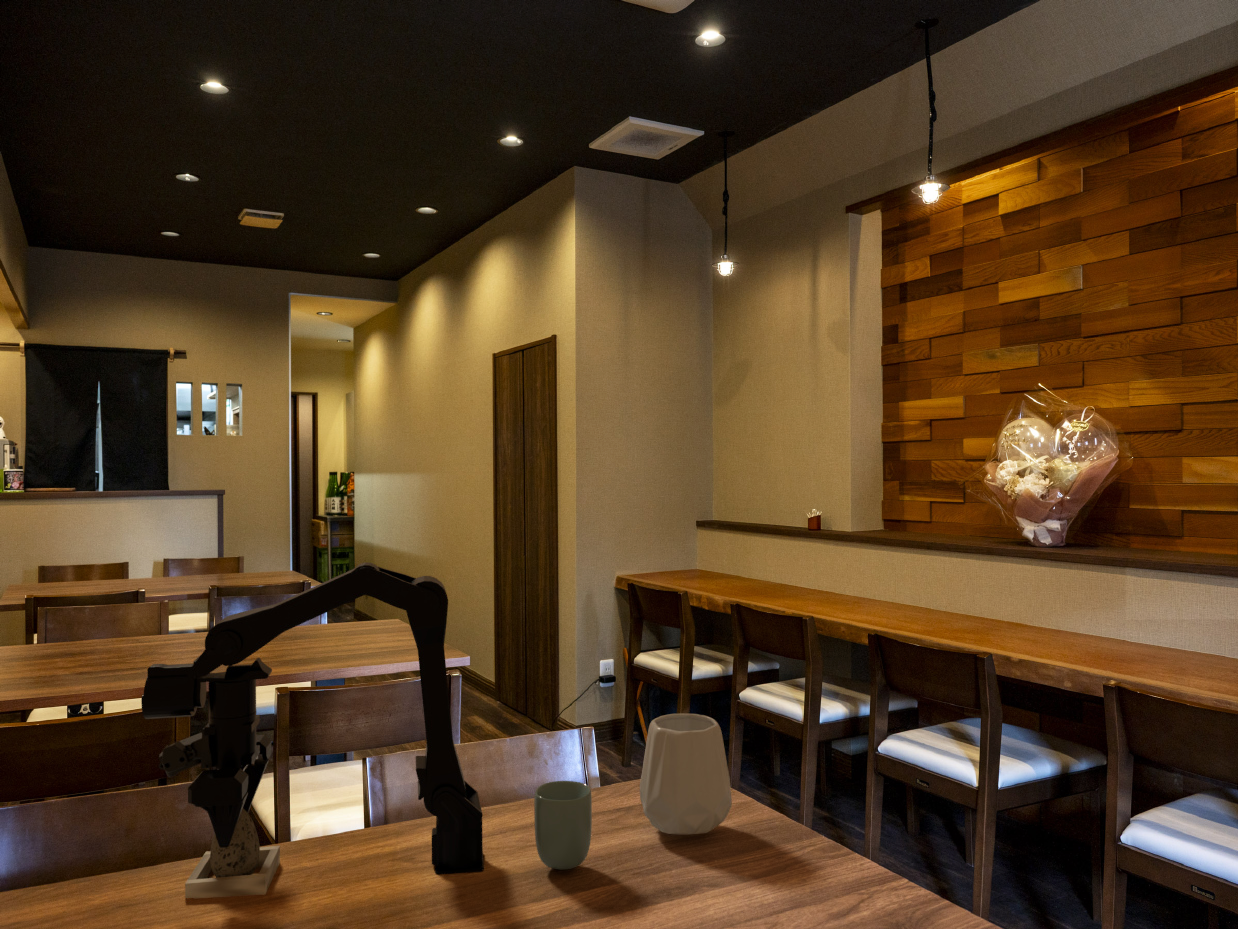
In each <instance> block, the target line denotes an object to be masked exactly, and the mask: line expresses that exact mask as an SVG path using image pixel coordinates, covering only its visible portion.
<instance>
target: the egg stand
mask: <svg viewBox="0 0 1238 929" xmlns="http://www.w3.org/2000/svg"><path fill="white" fill-rule="evenodd" d="M259 847H260V854H259V860H258V864H257V866H256V868H261V869H260V871H259V873H258V874H252V875H243V876H230V877H218V878H216V877H209V878H208V876H209V875H210V874H209V873H211V872H212V868H211V863H210V852H211V850H210V851H208V850H206V851H205V853H204V854H203V856H202V857H201V859H200V860H199V861H198V863H197V865H196V866H195V868H194V869H193V871H192V872H191V874H190V876H189V877H188V878H187V880H186V881H185V883H184V898H194V899H209V898H211V899H212V898H226V897H245V896H256V895H257V896H260V895H266V894H267V892H268V889H269V887H270V885H271V884H272V880H273V879H274V877H275V875H276V872H277V870H278V868H279V866H280V864H281V851H280V850H281V845H272V846H259Z"/></svg>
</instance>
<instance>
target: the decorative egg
mask: <svg viewBox="0 0 1238 929" xmlns="http://www.w3.org/2000/svg"><path fill="white" fill-rule="evenodd" d="M260 847H261V846H260V840H259V836H258V832H257V828H256V826H255V823H254V821H253V819H252V817H251V816H250V814H249V812H248V813H247V812H246V810H244V809H242V811H241V814H240V817H239V820H238V823H237V825H236V828H235V831H234V834H233V837H232V839H231V842H230V845H229V846H228V847H224V848H220V847H219V845H218V841H217V838H216V835H215V832H214V833H213V837H212V840H211V846H210V851H211V852H210V863H211V868H212V870H211V872H212V873H213V875H214V877H215V878H218V877H230V876H243V875H253V873H254V872H255V870H256V868H257V867H256V866H257V864H258V860H259V854H260Z"/></svg>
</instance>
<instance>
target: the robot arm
mask: <svg viewBox="0 0 1238 929" xmlns="http://www.w3.org/2000/svg"><path fill="white" fill-rule="evenodd" d="M446 590H447V589H446V587H445V586H444V584H443V582H442V581H440V580H439V579H438V578H436V577H434V576H432V575H422V576H418V577H414V576H411V575H408V574H405V573H402V572H398V571H394V570H390V569H387V568H383V567H380V566H379V565H378V566H377V565H376V564H375V563H372V562H366V561H365V562H362V563H359V564H358V565H356V567H354V568H352V569H350V570H348V571H347V572H344V573H341V574H339V575H337V576H335V577H333V578H331V579H328V580H326V581H323V582H322V583H319V584H317V585H315V586H312V587H311V588H308V589H307V590H304V591H302V592H300V593H298V594H295V595H293V596H291V597H288V598H286V599H283V600H282V601H279V602H276V603H274V604H270V605H268V606H267V605H266V606H263V607H257V608H256V607H255V608H251V609H248V610H244V611H241V612H238V613H233V614H230V615H227V616H226V617H224V618H222V619H221V620H220V621H219V622H217V623H216V624H215V625H213V626H212V627H211V628H210V629H209V630H208V632H207V633H206V636H205V638H204V651H202V653H201V654H200V655H198V656H197V658H196V659H194V660H193V663H179V664H165V663H153V664H151V665H150V666H149V667H148V668H147V672H146V674H147V677H146V679H145V683H144V688H143V694H142V696H141V697H140V698H141V700H140V701H141V702H140V703H141V713H142V716H143V718H144V719H145V720H150V719H153V720H154V719H167V718H168V719H170V718H184V717H194V716H195V715H196V714H197V713H196V712H197V709H198V708H204V707H205V704H206V699H207V683H208V723H207V724H206V725H205V726H204V727H203V728H202V729H201V730H202V731H201V732H199V733H197V734H194V735H191V736H188V737H186V738H184V739H182V740H177V741H175V742H173V743H172V744H167V745H166V746H164V747H163V749H162V751H161V753H159V754H158V755H159V756H158V759H159V764H158V768H159V770H160V771H161V770H162V771H165V773H166V776H167V778H172V777H175V776H178V774H179V773H181V772H183V771H185V770H188V769H190V768H194V767H196V766H198V765H200V769H202V771H201V772H200V773H199V775H198V776H196V777H195V778H194V780H193V781H191V783H190V785H189V786H188V787H187V804H190V805H193V806H194V807H196V808H201V809H202V810H204V811H206V813H207V814H208V818H209V820H210V823H211V825H212V829H213V832H214V833H215V835H216V838H217V841H218V845H219V847H220V848H224V847H228V846H229V845H230V842H231V839H232V837H233V834H234V831H235V828H236V825H237V823H238V820H239V817H240V814H241V811H242V809H244V810H246V812H247V813H248V814H249V812H250V809H251V806H252V804H253V801H254V799H255V796H256V793H257V791H258V788H259V786H260V784H261V781H262V778H263V776H264V773H265V771H266V768H267V766H268V763H269V761H270V759H269V758H270V757H271V756H272V739H270V738H269V737H268V736H267V735H266V734H257V727H258V725H259V724H260V722H261V721H260V720H261V719H260V716H261V715H260V714H257V680H267V679H268V678H269V677H270V675H271V674H272V672H273V669H272V667H269V665H267V664H266V663H264V661H262V659H261V658H260V657H257V658H256V659H255V660H254V661H253V662H252V663H251V664H239V663H242V662H243V661H245V660H246V659H248V658H249V657H250V656H251V655H253V654H254V653H256V652H258V651H259V650H260V649H261V648H263V647H265V646H266V645H268V644H269V643H270V642H272V641H273V640H274V639H276V638H277V637H279V636H280V635H281V634H283V633H285V632H286V631H289V630H291V629H293V628H295V627H298V626H300V625H302V624H305V623H306V622H309V621H310V620H313V619H315V618H318V617H319V616H322V615H323V614H326V613H328V612H330V611H332V610H335V609H337V608H340V607H341V606H343V605H346V604H348V603H350V602H352V601H355V600H357V599H358V598H361V597H363V596H367V597H369V598H373V599H375V600H379V601H380V602H383V603H385V604H388V605H390V606H393V608H394V607H395V608H397V609H400V610H403V611H405V613H406V615H407V620H408V622H409V626H410V629H411V633H412V637H413V639H414V642H415V645H416V648H417V654H418V666H419V678H420V688H421V697H422V710H423V719H424V728H425V729H424V730H425V739H426V746H425V754H424V755H415V772H416V776H417V779H418V780H417V799H418V800H417V801H421V800H422V799H423V804H424V808H425V809H426V812H428V813H430V814H431V815H433V816H434V817H436V819H435V820H436V822H435V823H436V824H435V827H433V828H432V829H431V865H432V866H434V867H435V868H434V874H435V875H452V874H462V873H463V874H464V873H474V872H475V873H478V872H483V871H484V869H485V866H484V851H483V847H484V846H483V816H484V815H483V810H482V805H481V802H480V801H481V800H480V796H479V792H478V791H477V790H476V789H475V788H474V787H473V786H472V785H471V784H469V782H467V781H466V780H465V776H464V772H463V768H462V765H461V762H460V757H459V755H458V754H459V753H458V752H457V751H458V750H457V749H456V745H455V742H454V736H453V729H452V728H453V727H452V726H453V725H452V717H451V716H452V714H451V707H450V697H449V684H448V675H447V674H448V673H447V666H446V664H447V663H446V656H445V638H446V631H447V623H448V621H447V620H448V609H449V608H448V607H449V599H448V593H447V591H446ZM221 666H224V667H226V669H225V671H222V672H214V671H215V670H216V669H218V668H219V667H221ZM259 755H261V756H262V758H259ZM213 767H214V768H215V769H211V768H213ZM203 769H205V770H203Z"/></svg>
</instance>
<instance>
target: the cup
mask: <svg viewBox="0 0 1238 929" xmlns="http://www.w3.org/2000/svg"><path fill="white" fill-rule="evenodd" d="M592 796H593V795H592V789H591V787H590V785H588V784H587V783H584V782H580V781H576V780H575V781H574V780H556V781H555V780H554V781H550V782H546V783H543V784H541V785H539V786H538V787H537V788H536V789H535V792H534V804H533V807H534V808H533V809H534V820H533V821H534V838H535V846H536V850H537V854H538V856H539V859H540V860H541V862H542V863H543V864H544V866H546V867H548V868H551V869H552V870H553V869H554V870H560V871H561V870H562V871H564V870H565V871H566V870H572V869H575V868H578V866H581V865H582V864H583V863H584V861H585V860H586V858H587V857H588V854H589V851H590V848H591V847H590V846H591V840H592V828H593V827H592V819H593V817H592V816H593V814H592V813H593V809H592V808H593V807H592V804H593V802H592V799H593V798H592Z"/></svg>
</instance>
